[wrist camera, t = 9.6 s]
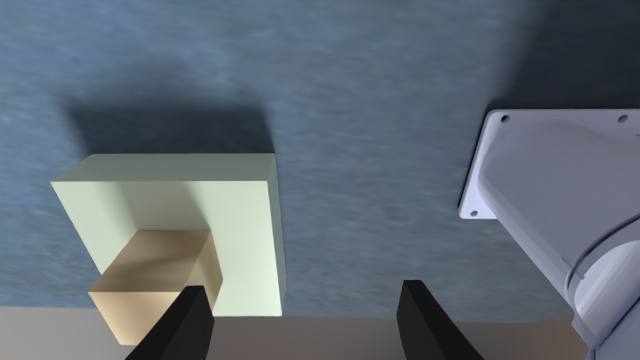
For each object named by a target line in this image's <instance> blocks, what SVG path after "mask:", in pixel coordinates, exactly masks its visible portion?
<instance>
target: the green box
mask: <svg viewBox="0 0 640 360" xmlns="http://www.w3.org/2000/svg"><path fill="white" fill-rule="evenodd" d="M50 182H51V184H52V186H53V188H54V190H55V192H56V193H57V195H58V197H59V199H60V201H61V202H62V204H63V206H64V208H65V210H66V211H67V213H68V215H69V217H70V219H71V221H72V222H73V224H74V226H75V228H76V230H77V231H78V233H79V235H80V237H81V239H82V240H83V242H84V244H85V246H86V248H87V249H88V251H89V253H90V255H91V257H92V259H93V260H94V262H95V264H96V266H97V268H98V269H99V271H100V273H101V275H102V274H103V273H104V272H105V270H106V269H107V268H108V267H109V265H110V264H111V263H112V262H113V260H114V259H115V258H116V257H117V255H118V254H119V253H120V252H121V250H122V249H123V248H124V247H125V245H126V244H127V243H128V242H129V240H130V239H131V238H132V237H133V235H134V234H135V233H136V232H137V230H211V232H212V236H213V240H214V244H215V248H216V252H217V257H218V261H219V265H220V269H221V273H222V277H223V283H222V286H221V288H220V291H219V294H218V297H217V300H216V303H215V306H214V309H213V311H212V314H213V316H282V311H283V302H284V294H285V286H286V270H285V259H284V247H283V236H282V225H281V213H280V202H279V191H278V179H277V168H276V157H275V153H221V154H91V155H90V156H88V157H87V158H85V159H84V160H82V161H81V162H79V163H78V164H76V165H75V166H73V167H72V168H70V169H68V170H67V171H65V172H64V173H62V174H61V175H59V176H58V177H56V178H55V179H53V180H52V181H50Z"/></svg>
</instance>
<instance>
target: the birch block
mask: <svg viewBox="0 0 640 360" xmlns="http://www.w3.org/2000/svg"><path fill="white" fill-rule="evenodd" d="M222 283H223V277H222V273H221V269H220V265H219V261H218V257H217V252H216V248H215V244H214V240H213V236H212V232H211V230H137V232H136V233H135V234H134V235H133V237H132V238H131V239H130V240H129V242H128V243H127V244H126V245H125V247H124V248H123V249H122V250H121V252H120V253H119V254H118V255H117V257H116V258H115V259H114V260H113V262H112V263H111V264H110V265H109V267H108V268H107V269H106V270H105V272H104V273H103V274H102V275H101V277H100V278H99V279H98V280H97V282H96V283H95V284H94V285H93V287H92V288H91V289H90V290H89V292H88V293H89V294H90V296H91V298H92V299H93V301H94V302H95V304H96V306H97V307H98V309H99V311H100V312H101V314H102V315H103V317H104V319H105V320H106V322H107V324H108V325H109V327H110V329H111V330H112V332H113V333H114V335H115V337H116V338H117V340H118V342H119V343H120V345H138V344H139V343H140V342H141V340H142V339H143V338H144V337H145V336H146V334H147V333H148V332H149V331H150V330H151V329H152V327H153V326H154V325H155V324H156V323H157V321H158V320H159V319H160V318H161V316H162V315H163V314H164V313H165V312H166V310H167V309H168V308H169V307H170V305H171V304H172V303H173V301H174V300H175V299H176V298H177V296H178V295H179V294H180V293H181V291H182V290H183V289H184V288H185V287H186V286H192V285H204V287H205V291H206V294H207V297H208V301H209V304H210V307H211V311H213V309H214V306H215V303H216V300H217V297H218V294H219V291H220V288H221V286H222Z"/></svg>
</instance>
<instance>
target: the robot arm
mask: <svg viewBox="0 0 640 360" xmlns="http://www.w3.org/2000/svg"><path fill="white" fill-rule="evenodd" d="M504 115H506V118H505V120H503V121H501V118H502V117H503V116H504ZM621 116H622V117H621ZM620 117H621V118H620ZM619 118H620V119H619ZM618 119H619V120H618ZM472 211H474V212H473V213H471V212H472ZM458 214H459V215H460V217H461V218H464V219H498V220H499V221H500V222H501V223H502V225H503V226H504V227H505V228H506V229H507V231H508V232H509V233H510V234H511V235H512V237H513V238H514V239H515V240H516V241H517V243H518V244H519V245H520V246H521V247H522V248H523V250H524V251H525V252H526V253H527V254H528V256H529V257H530V258H531V259H532V260H533V262H534V263H535V264H536V265H537V266H538V268H539V269H540V270H541V271H542V272H543V274H544V275H545V276H546V277H547V278H548V280H549V281H550V282H551V283H552V284H553V286H554V287H555V288H556V289H557V290H558V292H559V293H560V294H561V295H562V296H563V298H564V299H565V300H566V301H567V302H568V304H569V305H570V306H571V307H572V308H573V310H574V312H575V318H574V320H573V322H572V326H573V327H574V328H575V330H576V331H577V332H578V333H579V335H580V336H581V337H582V338H583V340H584V341H585V342H586V344H587V345H588V346H589V347H590V349H589V351H588V353H587V355H586V357H585V360H640V109H495V110H492V111H490V112H489V113H488V114H487V116H486V118H485V122H484V125H483V128H482V132H481V135H480V139H479V142H478V145H477V149H476V152H475V155H474V159H473V162H472V166H471V169H470V172H469V176H468V179H467V182H466V186H465V189H464V193H463V196H462V199H461V203H460V206H459V210H458ZM396 316H397V321H398V327H399V332H400V337H401V341H402V346H403V349H404V353H405V356H406V359H407V360H484V359H483V357H482V356H481V355H480V354H479V353H478V352H477V351H476V350H475V349H474V347H473V346H472V345H471V344H470V342H469V341H468V340H467V339H466V338H465V336H464V335H463V334H462V333H461V331H460V330H459V329H458V328H457V327H456V325H455V324H454V323H453V322H452V320H451V319H450V318H449V317H448V315H447V314H446V313H445V311H444V310H443V309H442V307H441V306H440V305H439V304H438V302H437V301H436V300H435V298H434V297H433V295H432V294H431V293H430V291H429V290H428V289H427V287H426V286H425V284H424V283H423V282H422V281H421V280H404V281H403V286H402V291H401V296H400V301H399V305H398V310H397V315H396ZM213 325H214V317H213V314H212V311H211V307H210V304H209V301H208V297H207V294H206V291H205V287H204V285H192V286H186V287H185V288H184V289H183V290H182V291H181V293H180V294H179V295H178V296H177V298H176V299H175V300H174V301H173V303H172V304H171V305H170V307H169V308H168V309H167V310H166V312H165V313H164V314H163V315H162V316H161V318H160V319H159V320H158V321H157V323H156V324H155V325H154V326H153V327H152V329H151V330H150V331H149V332H148V333H147V334H146V336H145V337H144V338H143V339H142V340H141V342H140V343H139V344H138V345H137V346H136V347H135V349H134V350H133V351H132V352H131V353H130V354H129V355H128V357H127V358H126V359H125V360H205V359H206V356H207V353H208V349H209V345H210V339H211V335H212V330H213Z"/></svg>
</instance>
